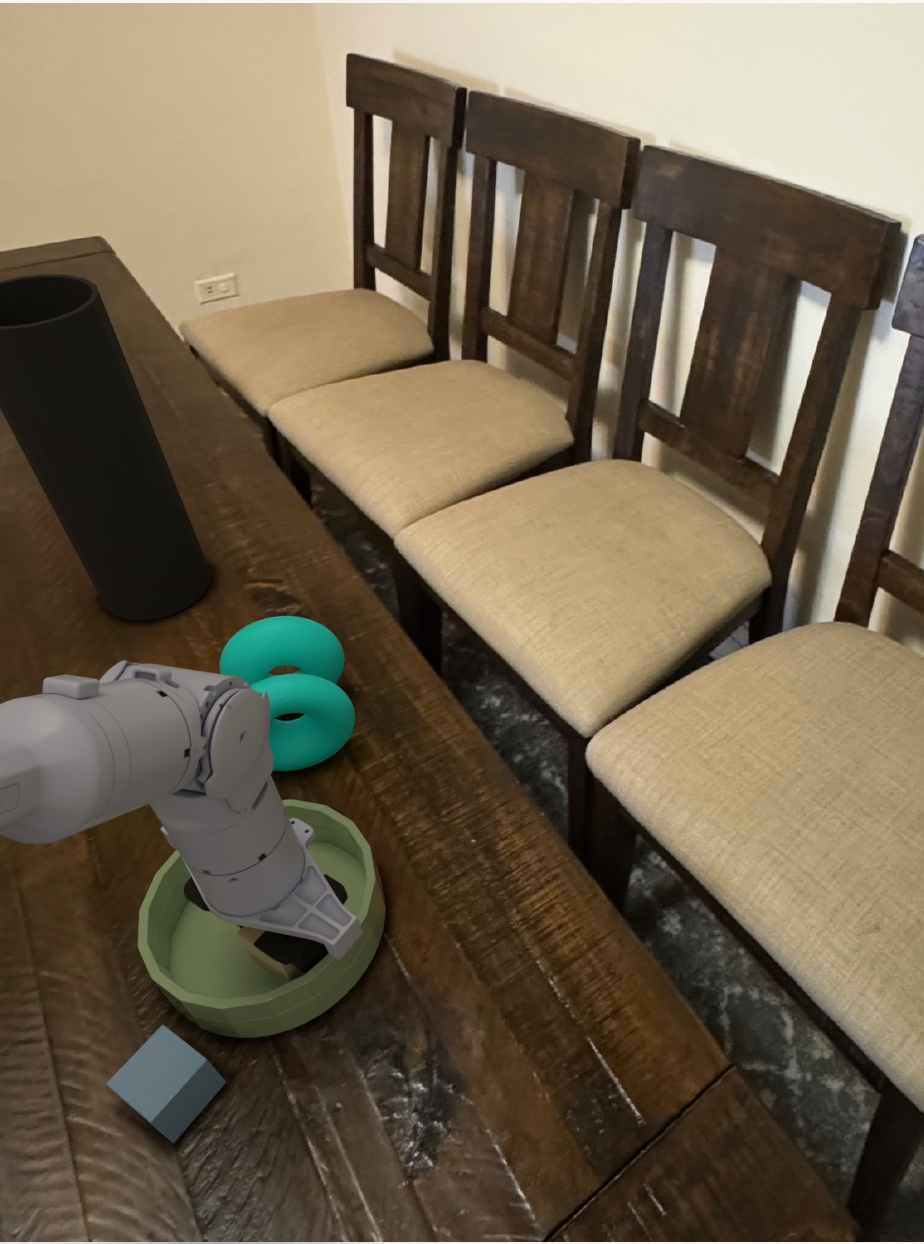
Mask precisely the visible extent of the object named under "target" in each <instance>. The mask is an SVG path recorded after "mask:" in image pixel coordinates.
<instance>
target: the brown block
mask: <svg viewBox="0 0 924 1244" xmlns="http://www.w3.org/2000/svg"><path fill="white" fill-rule="evenodd" d="M265 931H266V930H261V929H255V928H250V927H245V926H243V927H242V928H241V929H240V931H239V932H238V933H237V935H238V936H239V938H240V940H241V941H242V943H243V945H244V946H245V948H246V950H247V951H248V953H249V955H250V956H251V958H252V960H253V961H254V962H255V963H257V964H258V965H259V966H261V967H262V968H264V969H265V970H267V971H268V972H269V973H271V974H272V975H274V976H275V977H276V978H278V979H279V980H281V981H282V982H283V983H285V984H286V983H288V982H290V981H292V980H295V979H297V978H299V977H301V976H303V975H305V974H306V973H304V972H302V971H301V970H299V969H298V968H297V967H295V966H294V965H293V964H291V963H290V964H288V965H285V964H282V963H279V962H277V961H275V960H273V959H272V958H270V957H269V956H267V955H266V954H265V953H263V952H262V951H260V950H259V949H258V948H256V947H255V946H254V942H255V941H256V940H257V939H258V938H259V937H260V936H261V935H262V934H263V933H264V932H265ZM326 956H327V955H326ZM326 956H325V957H326ZM325 957H324V958H325Z"/></svg>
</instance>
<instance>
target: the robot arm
mask: <svg viewBox="0 0 924 1244" xmlns="http://www.w3.org/2000/svg"><path fill="white" fill-rule="evenodd" d="M244 680H245V679H243V678H241V677H235V676H229V675H222V674H220V673H216V672H209V671H202V670H194V669H190V668H183V667H176V666H169V665H163V664H157V663H152V662H151V663H150V662H149V663H148V662H146V663H140V662H130V661H129V660H124V659H123V660H121V661H119V662H117V663H115V665H113V666H112V667H110V668H109V669H108V670H107V671H106V672H105V673H104V674H103V675H102V676H101V677H100V679H97V678H92V677H86V676H79V675H72V674H61V675H54V676H49V677H48V676H47V677H45V678H44V679H43V680H42V691H41V692H42V693H38V694H34V695H30V696H29V695H28V696H23V697H17V698H13V699H10V700H6V701H4V702H2V703H0V835H1V836H3V837H5V838H7V839H9V840H12V841H15V842H18V843H21V844H27V845H48V844H53V843H56V842H59V841H61V840H65V839H68V838H69V837H72V836H74V835H76V834H79V833H81V832H84V831H86V830H88V829H91V828H94V827H96V826H98V825H101V824H103V823H106V822H108V821H111V820H113V819H115V818H118V817H120V816H124V815H125V814H127V813H131V812H132V811H135V810H137V809H140V808H142V807H145V806H147V805H150V807H151V809H152V810H153V812H154V814H155V816H156V817H157V819H158V820H159V823H160V824H161V827H160V831H161V833H162V835H163V836H164V839H165V840H166V841H167V843H168V844H169V846H170V847H172V848H173V849H175V851H176V850H178V851H179V853H180V855H181V857H182V859H183V861H184V863H185V865H186V867H187V868H188V870H189V872H190V874H191V876H192V877H191V878H190V879H189V880H188V881H187V882H186V884H185V886H184V895H185V897H186V898H187V899H188V900H189V901H191V902H192V903H194V904H195V905H196V906H198V907H199V908H201V909H202V910H204V911H209V912H212V913H213V914H214V915H215V916H216V917H217V918H219V919H220V920H223V921H225V922H227V923H231V924H235V925H237V926H239V927H240V928H242V927H243V926H245V927H250V928H255V929H261V930H266V931H265V932H264V933H263V934H262V935H261V936H260V937H259V938H258V939H257V940H256V941H255V942H254V946H255V947H256V948H258V949H259V950H260V951H262V952H263V953H265V954H266V955H267V956H269V957H270V958H272V959H273V960H275V961H277V962H279V963H282V964H285V965H288V964H290V963H291V964H293V965H294V966H295V967H297V968H298V969H299V970H301V971H302V972H304V973H307V972H308V971H310V970H311V969H312V968H313V967H314V966H315V965H316V964H318V963H319V962H320V961H321V960H322V959H323V958H324V957H325V956H326V955H327V954H328V953H329V954H331V955H332V956H334V957H335V958H337V959H338V960H340V959H341V958H342V957H343V956H344V955H345V953H346V952H347V951H348V950H349V949H350V948H351V947H352V946H353V944H354V943H355V942H356V941H357V939H358V938H359V937H360V936H361V935H362V934H363V931H362V928H361V925H360V923H359V920H358V918H357V916H355V915H354V914H353V913H351V912H350V911H349V910H347V909H346V908H345V907H344V906H343V905H344V903H345V902H346V901H347V899H348V895H347V892H346V889H345V887H344V886H343V885H342V884H341V883H339V882H338V881H336V880H335V879H333V878H331V877H330V876H328V875H327V874H325V875H323V874H322V873H321V871H320V869H319V868H318V866H317V865H316V863H315V861H314V860H313V858H312V857H311V855H310V853H309V852H308V850H307V849H308V846H309V845H310V844H311V843H312V842H313V840H314V839H315V832H314V830H313V828H312V827H311V826H309V825H308V824H306V823H304V822H303V821H301V820H299V819H297V818H291V819H289V817H288V814H287V812H286V810H285V807H284V805H283V802H282V800H283V799H282V797H281V796H280V793H279V791H278V789H277V786H276V783H275V781H274V779H273V777H272V773H273V772H274V771H273V763H272V762H273V759H274V756H273V753H272V751H271V748H270V744H269V728H270V704H269V698H268V695H267V692H266V691H264V692H263V693H262V697H261V692H259V691H255V690H253V689H252V688H251V686H250V684H249V683H247V682H244Z"/></svg>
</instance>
